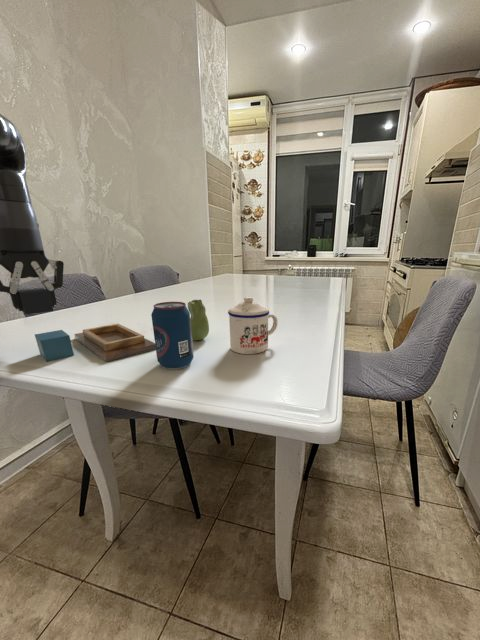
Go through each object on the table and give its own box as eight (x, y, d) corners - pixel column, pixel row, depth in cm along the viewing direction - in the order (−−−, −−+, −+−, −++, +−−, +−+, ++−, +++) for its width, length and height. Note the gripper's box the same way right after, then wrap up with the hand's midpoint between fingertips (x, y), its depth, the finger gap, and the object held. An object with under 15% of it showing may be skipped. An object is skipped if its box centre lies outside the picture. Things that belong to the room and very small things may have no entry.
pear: (212, 340, 72) (210, 300, 68) (191, 344, 69) (187, 302, 66) (205, 335, 76) (202, 296, 73) (185, 338, 74) (181, 298, 70)
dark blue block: (25, 314, 62) (20, 293, 60) (21, 309, 66) (15, 289, 64) (53, 311, 65) (48, 290, 64) (47, 306, 69) (42, 287, 67)
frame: (106, 362, 59) (103, 349, 58) (75, 338, 73) (72, 328, 72) (157, 348, 66) (155, 337, 65) (119, 329, 81) (118, 320, 80)
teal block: (46, 361, 59) (40, 340, 58) (40, 354, 63) (34, 334, 61) (74, 355, 62) (69, 335, 61) (66, 348, 66) (61, 329, 65)
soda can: (151, 364, 58) (143, 304, 54) (182, 354, 63) (176, 299, 58) (169, 374, 53) (161, 310, 49) (200, 363, 58) (196, 304, 54)
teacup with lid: (240, 358, 61) (238, 303, 57) (223, 345, 68) (220, 296, 64) (287, 348, 67) (288, 297, 62) (266, 337, 74) (267, 291, 70)
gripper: (53, 229, 67) (68, 302, 72) (-34, 225, 57) (-8, 310, 63) (61, 228, 62) (77, 307, 68) (-32, 224, 52) (-4, 316, 58)
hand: (36, 308), depth 65 cm, fingers closed on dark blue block, 5 cm apart
